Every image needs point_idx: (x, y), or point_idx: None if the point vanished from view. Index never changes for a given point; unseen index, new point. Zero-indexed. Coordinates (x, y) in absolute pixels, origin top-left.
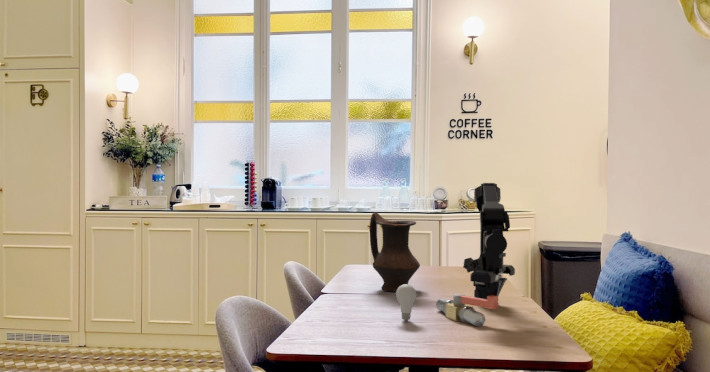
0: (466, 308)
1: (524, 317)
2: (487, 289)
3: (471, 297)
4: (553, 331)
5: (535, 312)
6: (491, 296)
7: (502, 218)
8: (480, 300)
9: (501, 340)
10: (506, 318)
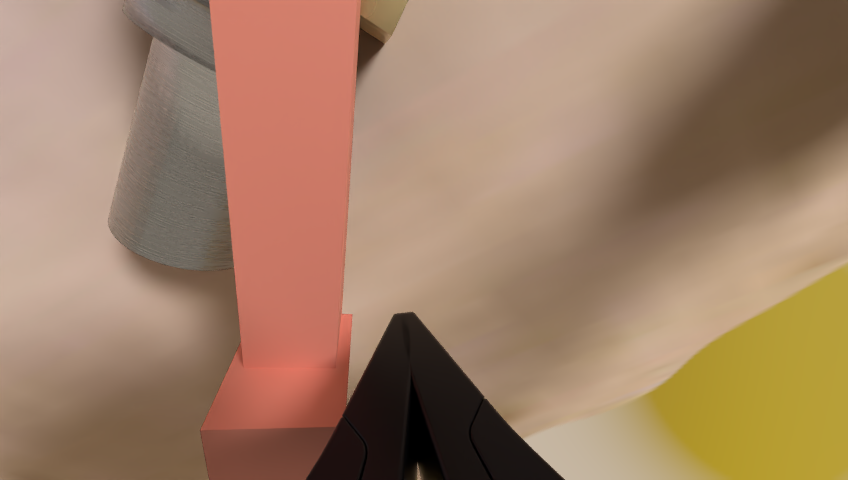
0: (175, 45)
1: (653, 284)
2: (321, 453)
3: (288, 48)
4: None
5: (806, 270)
6: (241, 464)
7: None
8: (235, 268)
9: (69, 433)
10: (577, 224)
